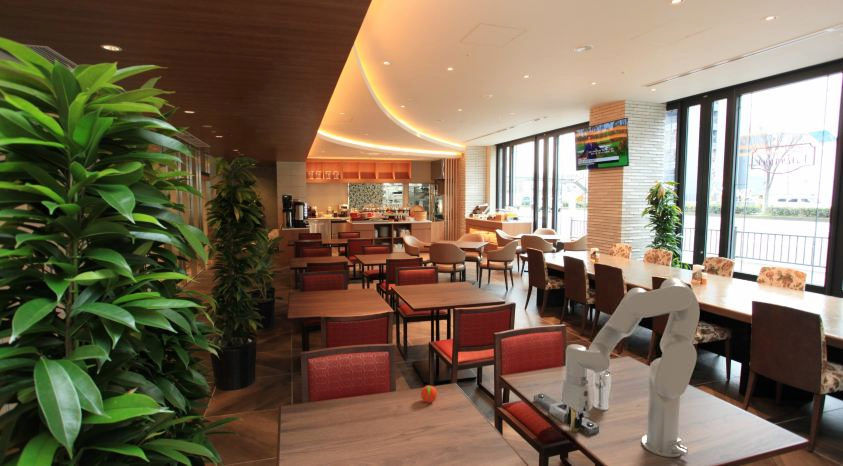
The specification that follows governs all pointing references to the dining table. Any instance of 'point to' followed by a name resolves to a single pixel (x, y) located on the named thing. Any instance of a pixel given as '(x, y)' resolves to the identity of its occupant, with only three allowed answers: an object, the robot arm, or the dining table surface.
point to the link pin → (573, 420)
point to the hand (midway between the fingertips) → (574, 425)
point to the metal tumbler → (601, 389)
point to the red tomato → (428, 394)
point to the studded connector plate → (564, 413)
